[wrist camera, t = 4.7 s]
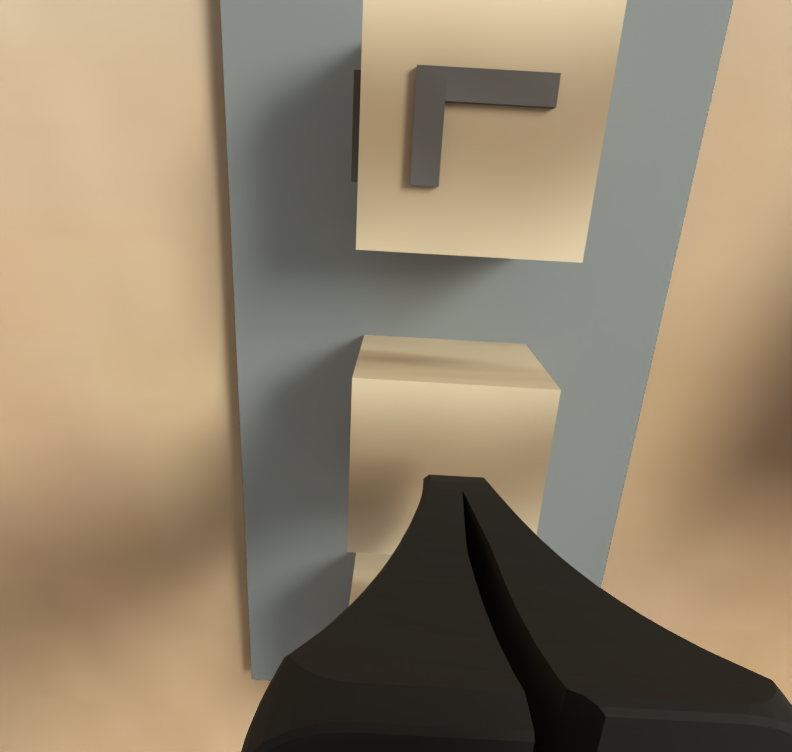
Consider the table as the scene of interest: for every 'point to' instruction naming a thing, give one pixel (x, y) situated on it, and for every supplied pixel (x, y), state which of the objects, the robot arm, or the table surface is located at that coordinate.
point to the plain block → (444, 429)
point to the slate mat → (432, 290)
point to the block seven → (482, 125)
